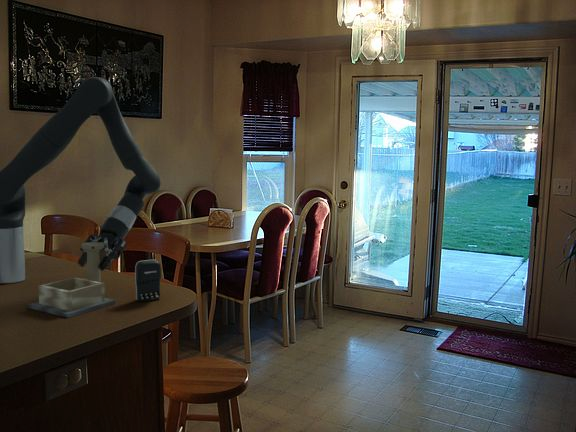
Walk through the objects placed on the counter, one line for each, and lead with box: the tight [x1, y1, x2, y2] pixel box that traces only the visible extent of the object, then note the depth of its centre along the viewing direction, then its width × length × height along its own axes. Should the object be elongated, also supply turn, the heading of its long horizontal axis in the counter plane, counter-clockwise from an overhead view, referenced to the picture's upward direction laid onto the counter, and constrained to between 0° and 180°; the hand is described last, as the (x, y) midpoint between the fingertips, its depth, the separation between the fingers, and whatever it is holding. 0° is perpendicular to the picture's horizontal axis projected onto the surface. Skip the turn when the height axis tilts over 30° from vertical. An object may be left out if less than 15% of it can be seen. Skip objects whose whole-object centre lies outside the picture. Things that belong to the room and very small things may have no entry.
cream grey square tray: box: [27, 277, 116, 319], centre depth 165 cm, size 16×16×6 cm
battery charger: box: [134, 259, 162, 302], centre depth 172 cm, size 7×4×11 cm, turn 120°
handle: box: [80, 242, 104, 283], centre depth 177 cm, size 5×6×15 cm
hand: (89, 267), depth 176 cm, fingers open, 8 cm apart
